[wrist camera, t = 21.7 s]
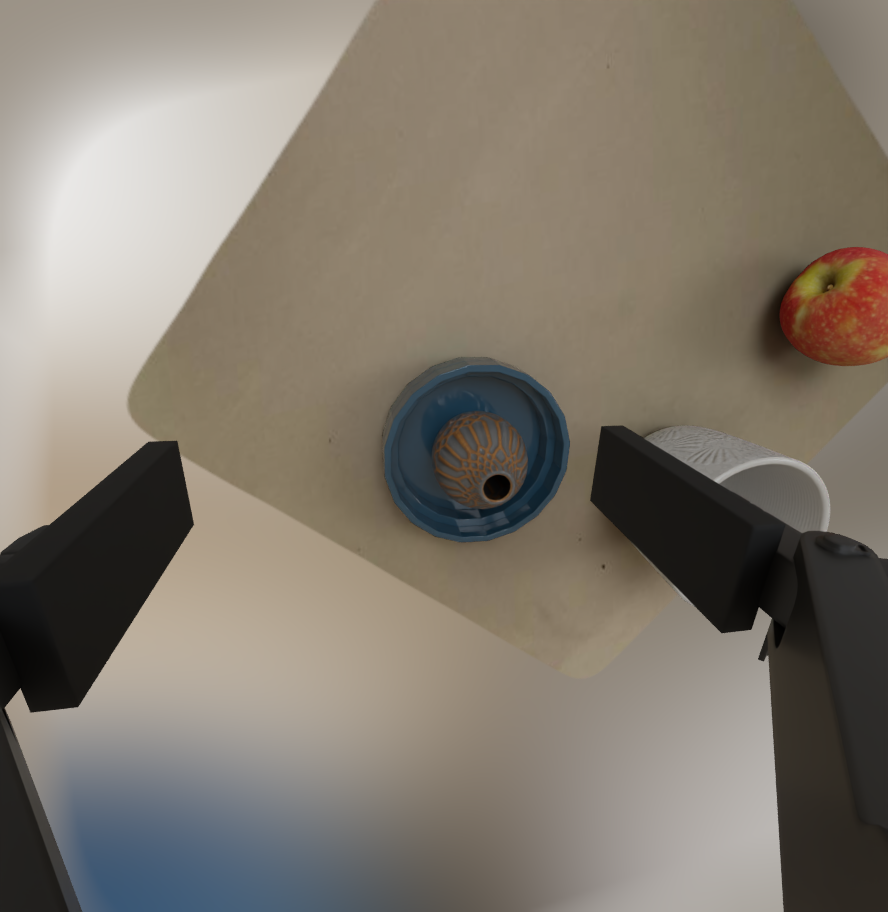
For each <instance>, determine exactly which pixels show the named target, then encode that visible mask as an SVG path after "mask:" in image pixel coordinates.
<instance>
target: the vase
mask: <svg viewBox="0 0 888 912" xmlns="http://www.w3.org/2000/svg"><path fill="white" fill-rule="evenodd" d="M432 466H433V470H434V474H435V477H436V479H437V481H438V483H439V485H440V486H441V488H442V489H443V490H444V491H445V493H446V494H447V495H448V496H450V497H451V498H452V499H453V500H455V501H456V502H458V503H460V504H462V505H464V506H467V507H470V508H475V509H489V508H494V507H497V506H500V505H502V504H504V503H506V502H507V501H509V500H510V499H511V498H512V497H514V496H515V495H516V493H517V492H518V491H519V490H520V488H521V487H522V485H523V483H524V480H525V478H526V474H527V468H528V457H527V451H526V447H525V444H524V442H523V440H522V438H521V436H520V434H519V433H518V432H517V430H516V429H515V428H514V427H513V426H512V425H511V424H510V423H509V422H508V421H506V420H505V419H503V418H502V417H500V416H498V415H496V414H493V413H490V412H485V411H470V412H465V413H462V414H459V415H457V416H455V417H453V418H452V419H450V420H449V421H448V422H447V423H446V424H445V425H444V426H443V427H442V428H441V430H440V431H439V433H438V434H437V436H436V438H435V441H434V444H433V448H432Z"/></svg>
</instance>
